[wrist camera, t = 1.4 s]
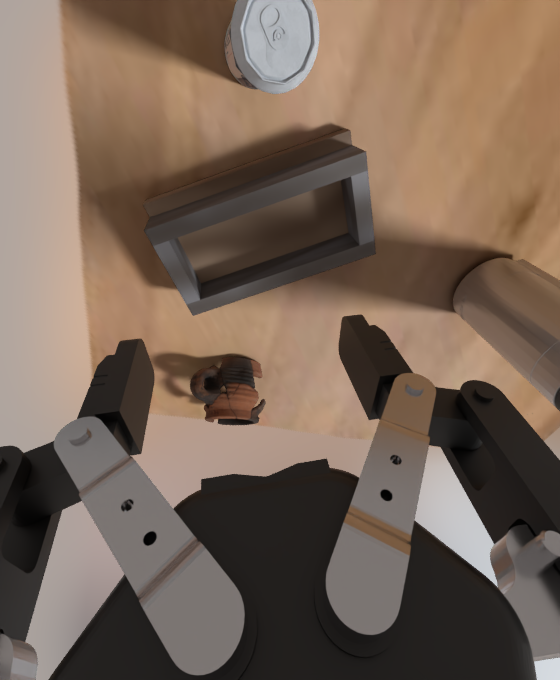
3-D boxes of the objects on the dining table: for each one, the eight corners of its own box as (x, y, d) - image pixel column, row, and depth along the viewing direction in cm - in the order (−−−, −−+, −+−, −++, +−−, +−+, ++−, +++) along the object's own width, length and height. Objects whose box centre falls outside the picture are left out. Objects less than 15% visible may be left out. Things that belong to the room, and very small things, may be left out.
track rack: (145, 200, 31) (136, 217, 27) (344, 128, 30) (364, 135, 26) (199, 300, 39) (197, 324, 35) (359, 245, 38) (376, 264, 34)
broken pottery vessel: (279, 365, 48) (278, 422, 45) (238, 377, 54) (235, 428, 51) (212, 342, 40) (205, 410, 37) (172, 359, 46) (163, 418, 43)
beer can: (244, 101, 28) (261, 113, 19) (211, 33, 25) (212, 7, 16) (294, 67, 27) (337, 61, 18) (265, -8, 24) (300, -61, 15)
